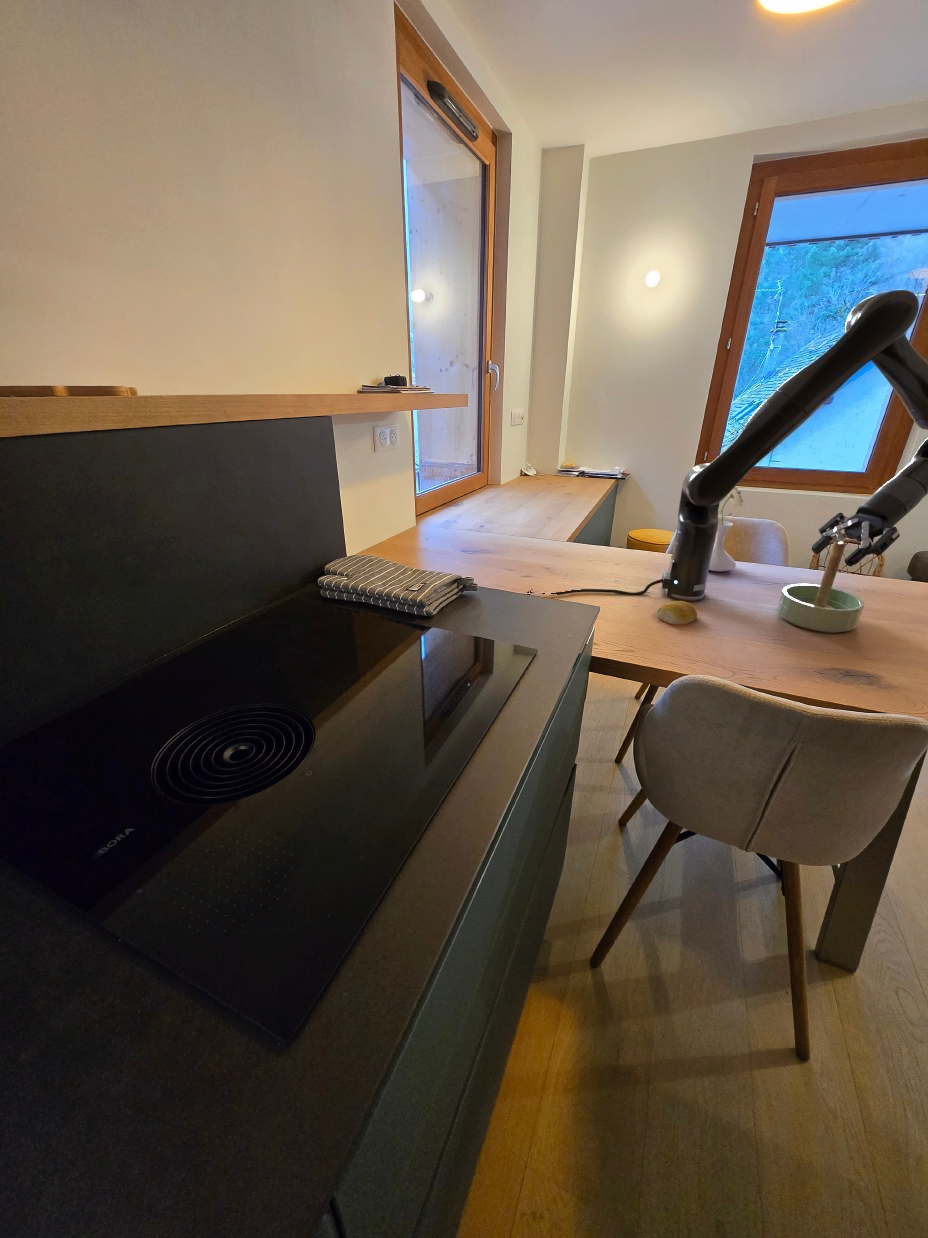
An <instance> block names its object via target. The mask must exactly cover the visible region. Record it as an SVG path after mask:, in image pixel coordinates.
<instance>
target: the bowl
mask: <svg viewBox="0 0 928 1238" xmlns="http://www.w3.org/2000/svg"><path fill="white" fill-rule="evenodd" d="M819 587H820V584H811V583H794V584H789V585H788V584H787V586H785V587H783V588H782V591H781V594H780V598H779V602H778V605H777V607H776V612H777V614H778V615H779V616H780V617H782V618H783V619H784V620H785V621H786V622H788V623H790V624H792V625H793V626H795V627H798V628H801V629H806V630H808V631H814V632H819V633H830V634H837V633H845V632H849V631H853V630H854V629H856V628H857V626H858V624H859V621H860V619H861V616H862V614H863V613H862V612H863V611H864V607H865V601H864V600H862V599H861V598H860V597H859V596H856V595H855V594H853V593H851V592H848V591H845V590H843V589H839V588H835V587H832V588H831V591H830V594H829V597H828V600H827V603H826V605H829V606H831V607H833V608H834V609H831V608H823V607H818V606H814V605H810V604H807V602H815V600H816V597H817V594H818V591H819Z"/></svg>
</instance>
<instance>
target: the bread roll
mask: <svg viewBox="0 0 928 1238" xmlns="http://www.w3.org/2000/svg"><path fill="white" fill-rule="evenodd" d="M697 611H698V610H697V609H696V607H695V606H694V605H693V604H691V603H690V602H688V601H686V600H673V601H669V602H667V603H663V604H660V605H659V606H658V607H657V609H656V611H655V614H656V617H657V618H658V619H660V620H661V621H663V622H665V623H668V624H671V625H686V624H689V623H692V622H694V621H695V620H696V619H697V618H698V612H697Z"/></svg>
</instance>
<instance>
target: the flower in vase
mask: <svg viewBox="0 0 928 1238" xmlns="http://www.w3.org/2000/svg"><path fill="white" fill-rule="evenodd" d="M741 494H742V492H741V490H739V489H738V487H737V485H736V486H735V487H734V488H733V490H732V491H731V492H730V493H729V494H728V495H727V496H726V497H728V498H727V499H726V500H725V502H724V503H723V505H722V507H721V508H720V507H719V510H718V514H720V516H721V520H718V529H717V534H716V539H715V543H714V548H713V553H712V557H711V562H710V567H709V571H712V572H727V571H732V570H734V569H735V568H736V567H737V563H736V561H735V559H734V558H733V557H732V556H731V555H730V554H729V553H727V551H726V550H725V548H724V543H725V538H726V535H727V534H728V531H729V530H730V528H731V527H732V526H734V524H733V522H729V521H726V520H725V521H724V519H725V518H727V517H729V516H732V514H733V513H732V512H730V513H729V514H727V515H724V513H723V512H724V508H725V506H726V505H727V503H728V501H730V502H731V503H732V504H733V505H734V506H736V507H737V508H738V507H739V508H740V507H742V506H743V504H742V503H743V502H744V499H743V498H742V495H741ZM723 515H724V516H723Z"/></svg>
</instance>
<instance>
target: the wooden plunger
mask: <svg viewBox="0 0 928 1238" xmlns="http://www.w3.org/2000/svg"><path fill="white" fill-rule="evenodd" d="M846 545H847V543H846V542H844V541H838V540H835V541H833V543H832V546H831V547H832V548H831V550H830V553H829V555H828V556H829V557H828V560H827V563H826V565H825V566H826V567H825V568H824V572H823V575H822V578H821V581H820V584H819V585H820V587H819V591H818V594H817V597H816V600H815V602H807V604H810V605H814V606H818V607H823V608H831V609H834V608H833V607H831V606H829V605H826V603H827V600H828V597H829V594H830V591H831V588H833V585H834V582H835V579H836V575H837V573H838V569H839V567H840V564H841V561H842V558H843V554H844V552H845V548H846Z"/></svg>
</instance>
